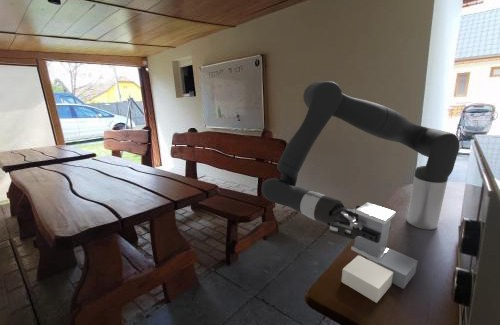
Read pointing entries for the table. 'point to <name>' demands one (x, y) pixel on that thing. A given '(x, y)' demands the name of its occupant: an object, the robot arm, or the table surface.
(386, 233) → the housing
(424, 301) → the table surface
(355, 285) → the stand
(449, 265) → the table surface
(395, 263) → the stand
